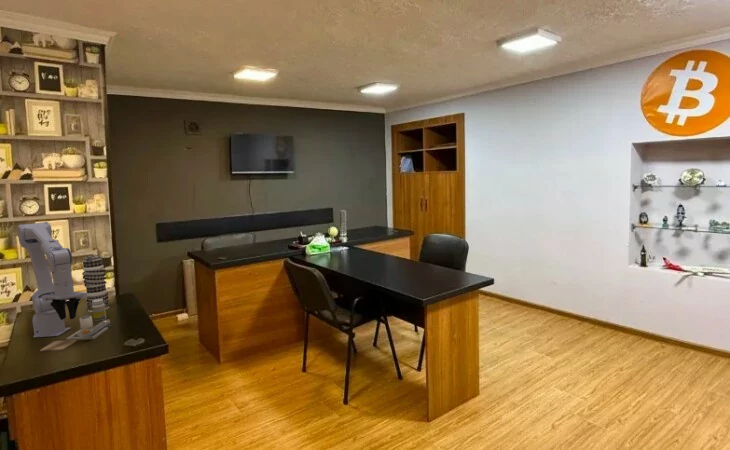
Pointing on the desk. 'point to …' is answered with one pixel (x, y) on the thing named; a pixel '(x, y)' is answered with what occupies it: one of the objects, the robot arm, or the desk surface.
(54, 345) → the coaster
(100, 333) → the socket
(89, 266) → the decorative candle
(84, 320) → the plug
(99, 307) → the supplement bottle
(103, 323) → the clip
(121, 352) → the desk surface
